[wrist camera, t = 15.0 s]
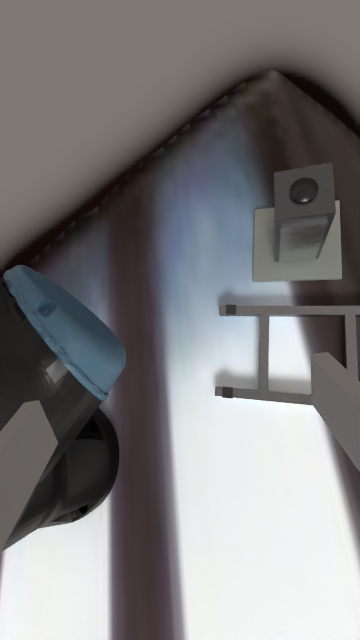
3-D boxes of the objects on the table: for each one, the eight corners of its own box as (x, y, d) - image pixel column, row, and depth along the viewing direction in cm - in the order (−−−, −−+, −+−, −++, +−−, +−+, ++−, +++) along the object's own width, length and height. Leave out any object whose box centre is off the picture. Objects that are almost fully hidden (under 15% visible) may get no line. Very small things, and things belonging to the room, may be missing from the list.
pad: (253, 281, 36) (253, 280, 36) (255, 211, 38) (254, 209, 37) (341, 279, 33) (341, 278, 32) (338, 202, 35) (339, 200, 34)
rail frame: (216, 395, 34) (214, 396, 33) (221, 307, 37) (219, 304, 35) (413, 415, 28) (420, 417, 27) (404, 307, 30) (411, 303, 29)
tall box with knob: (274, 265, 35) (275, 222, 25) (273, 222, 36) (273, 166, 27) (318, 261, 34) (336, 214, 24) (316, 217, 35) (332, 156, 25)
